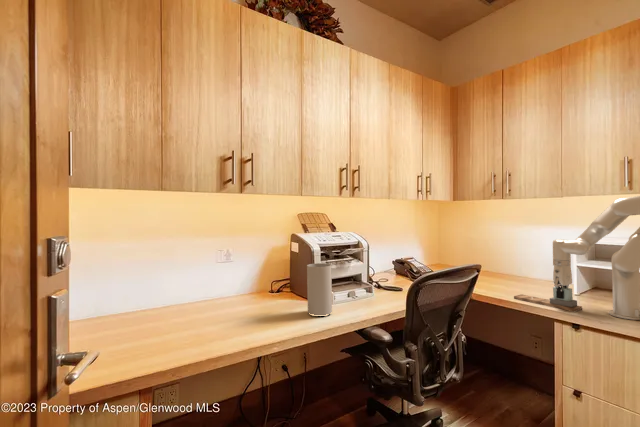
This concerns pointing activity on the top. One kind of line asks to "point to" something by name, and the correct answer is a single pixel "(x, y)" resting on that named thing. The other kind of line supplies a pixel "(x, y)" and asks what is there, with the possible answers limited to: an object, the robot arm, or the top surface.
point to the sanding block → (567, 298)
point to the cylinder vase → (319, 288)
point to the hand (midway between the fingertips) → (562, 297)
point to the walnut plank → (545, 302)
